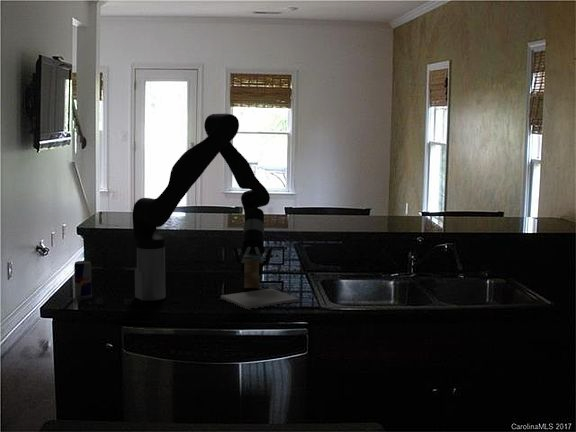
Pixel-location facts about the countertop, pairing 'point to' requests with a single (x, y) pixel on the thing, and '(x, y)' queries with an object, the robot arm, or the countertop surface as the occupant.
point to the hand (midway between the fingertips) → (251, 274)
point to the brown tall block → (251, 271)
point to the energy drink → (83, 280)
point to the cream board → (259, 298)
